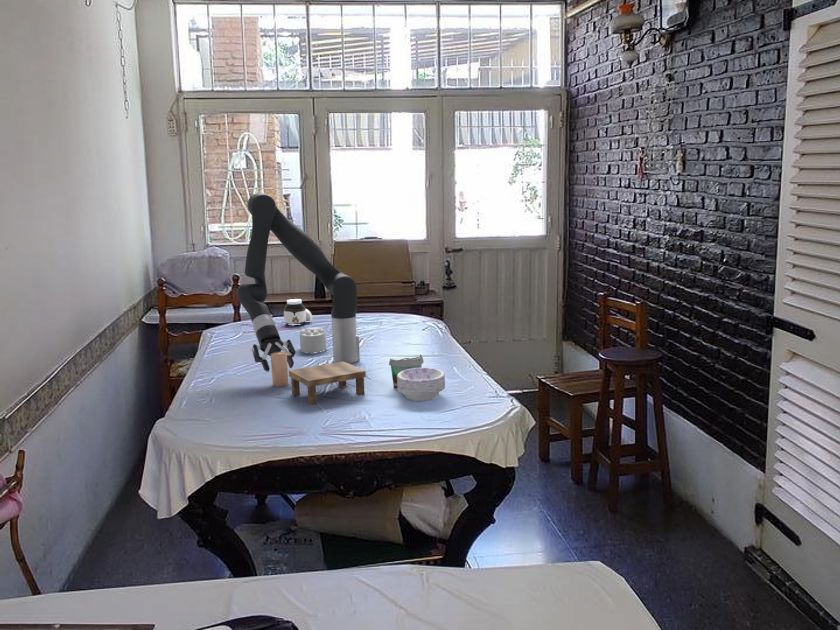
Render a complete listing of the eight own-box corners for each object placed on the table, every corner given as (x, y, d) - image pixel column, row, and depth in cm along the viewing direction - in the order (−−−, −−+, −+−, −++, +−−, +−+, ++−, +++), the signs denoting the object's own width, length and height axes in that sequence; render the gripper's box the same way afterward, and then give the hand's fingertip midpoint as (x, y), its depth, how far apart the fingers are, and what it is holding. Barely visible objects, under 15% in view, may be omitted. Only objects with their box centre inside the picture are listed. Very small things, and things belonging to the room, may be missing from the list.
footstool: (344, 384, 277) (343, 361, 275) (366, 394, 263) (365, 370, 262) (289, 393, 267) (288, 370, 265) (310, 405, 253) (308, 380, 252)
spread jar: (282, 326, 378) (281, 301, 376) (290, 321, 389) (289, 297, 387) (307, 326, 376) (306, 301, 374) (314, 321, 387) (313, 297, 385)
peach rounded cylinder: (284, 381, 282) (283, 350, 280) (290, 384, 278) (289, 353, 276) (270, 384, 279) (268, 352, 277) (276, 387, 275) (274, 355, 273)
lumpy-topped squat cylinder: (326, 345, 336) (325, 325, 334) (326, 353, 323) (324, 331, 321) (301, 347, 335) (300, 326, 333) (299, 354, 322) (298, 332, 320)
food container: (397, 392, 265) (396, 362, 264) (389, 387, 271) (388, 358, 269) (430, 386, 271) (430, 357, 269) (422, 382, 276) (421, 354, 274)
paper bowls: (408, 406, 249) (408, 382, 248) (390, 394, 263) (390, 370, 262) (453, 400, 255) (452, 375, 254) (433, 388, 269) (432, 365, 268)
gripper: (248, 326, 278) (262, 365, 270) (287, 321, 285) (302, 359, 278) (244, 339, 283) (257, 377, 276) (282, 333, 291) (296, 371, 283)
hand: (280, 368), depth 277 cm, fingers open, 8 cm apart
